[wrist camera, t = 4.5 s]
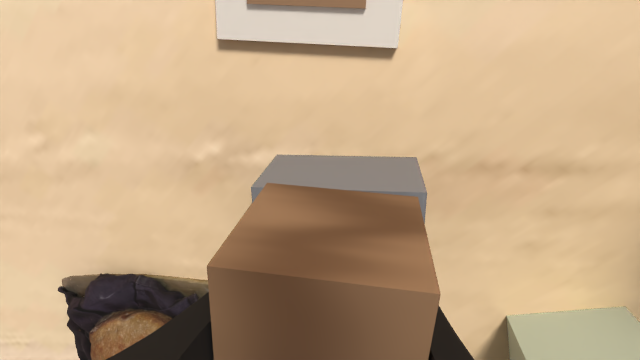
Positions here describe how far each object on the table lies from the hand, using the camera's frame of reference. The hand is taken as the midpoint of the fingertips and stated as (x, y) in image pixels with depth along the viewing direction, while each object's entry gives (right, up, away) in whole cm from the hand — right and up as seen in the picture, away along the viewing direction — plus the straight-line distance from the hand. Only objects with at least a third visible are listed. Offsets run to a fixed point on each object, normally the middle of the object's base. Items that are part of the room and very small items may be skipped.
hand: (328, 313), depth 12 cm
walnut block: (0, +1, +2) cm, 2 cm away
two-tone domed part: (-9, -4, +11) cm, 15 cm away
